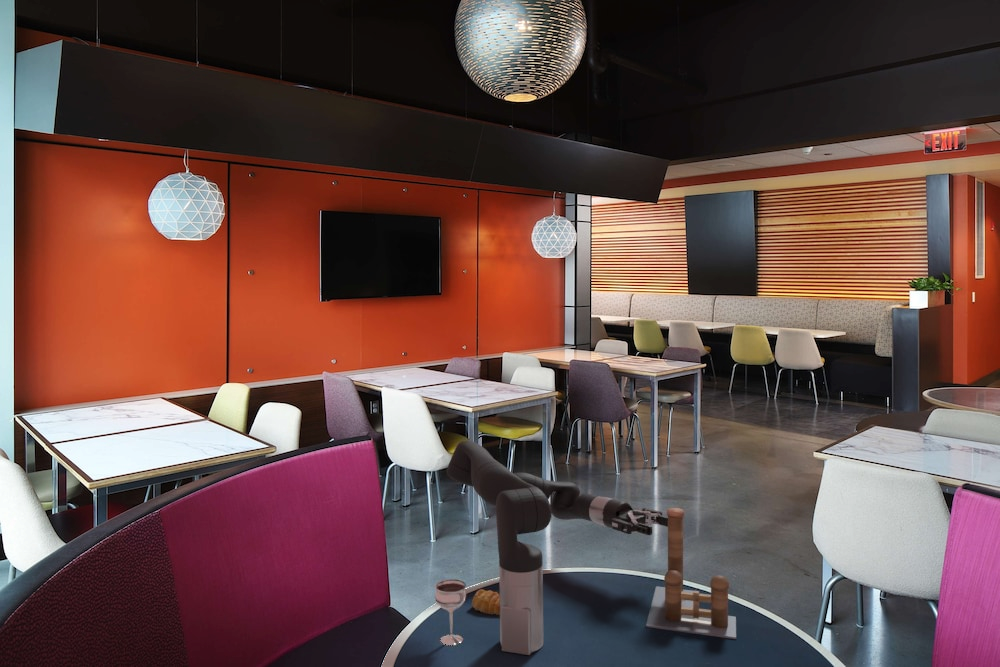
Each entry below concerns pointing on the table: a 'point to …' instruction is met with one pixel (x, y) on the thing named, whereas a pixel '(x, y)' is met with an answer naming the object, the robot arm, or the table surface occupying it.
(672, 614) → the fixed fence
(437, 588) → the wineglass
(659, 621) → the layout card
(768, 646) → the table surface
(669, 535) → the wooden fence section
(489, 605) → the pastry
